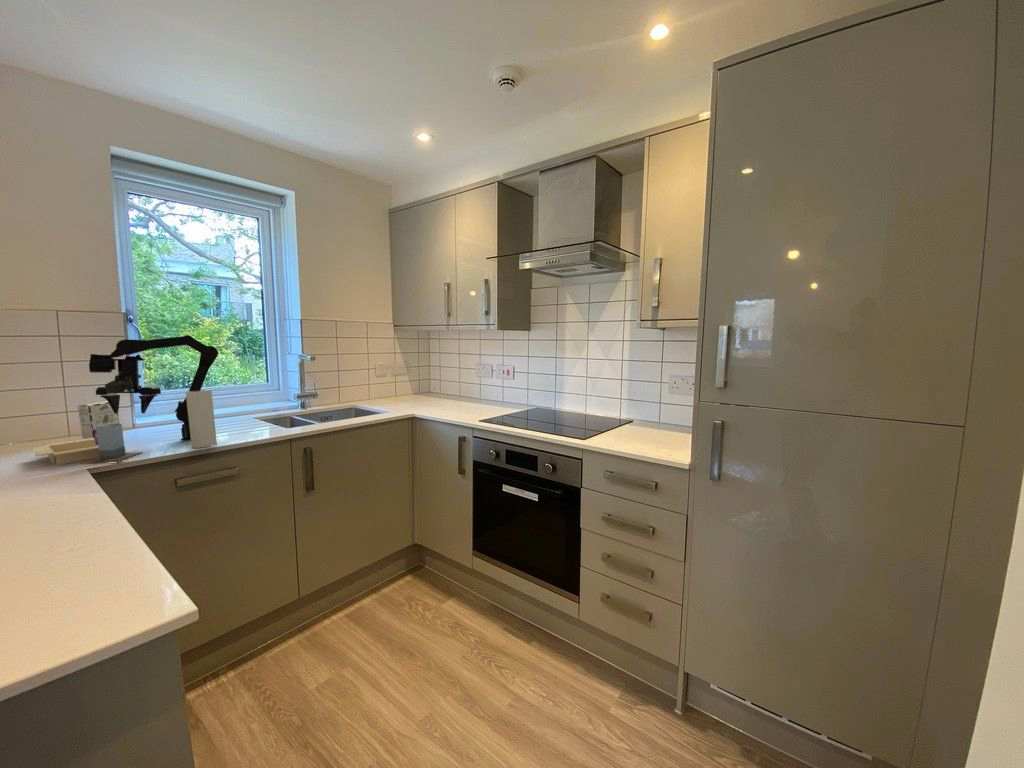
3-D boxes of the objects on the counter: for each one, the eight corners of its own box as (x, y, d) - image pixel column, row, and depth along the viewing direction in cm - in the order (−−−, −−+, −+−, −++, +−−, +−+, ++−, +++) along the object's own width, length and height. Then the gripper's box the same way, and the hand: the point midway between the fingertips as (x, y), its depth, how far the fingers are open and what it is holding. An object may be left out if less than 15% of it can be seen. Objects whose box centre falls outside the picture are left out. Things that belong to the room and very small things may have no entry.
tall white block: (187, 447, 157) (181, 391, 155) (204, 443, 163) (199, 389, 160) (200, 449, 154) (194, 391, 152) (217, 445, 160) (211, 389, 158)
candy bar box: (110, 440, 173) (105, 400, 171) (122, 439, 172) (117, 400, 171) (82, 447, 161) (76, 405, 160) (95, 447, 161) (89, 405, 160)
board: (142, 454, 149) (142, 452, 149) (118, 463, 138) (118, 461, 138) (108, 456, 148) (108, 453, 148) (80, 465, 137) (80, 462, 137)
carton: (116, 445, 162) (114, 434, 162) (130, 454, 148) (128, 442, 148) (32, 459, 145) (30, 446, 145) (39, 471, 131) (37, 457, 131)
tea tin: (111, 455, 145) (106, 424, 144) (125, 455, 145) (121, 423, 144) (99, 459, 140) (95, 427, 139) (115, 458, 141) (111, 426, 140)
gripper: (81, 372, 150) (83, 416, 150) (140, 373, 152) (141, 416, 153) (107, 372, 161) (108, 412, 162) (161, 372, 163) (162, 412, 164)
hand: (129, 413), depth 160 cm, fingers open, 9 cm apart
